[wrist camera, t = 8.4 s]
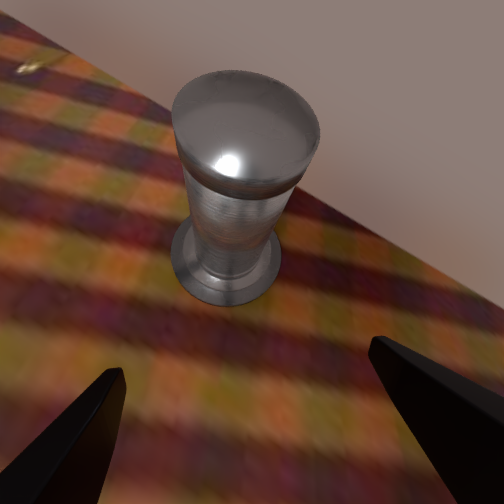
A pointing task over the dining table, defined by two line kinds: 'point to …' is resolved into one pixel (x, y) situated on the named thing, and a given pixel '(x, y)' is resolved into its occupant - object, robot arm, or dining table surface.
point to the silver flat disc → (217, 289)
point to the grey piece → (240, 162)
